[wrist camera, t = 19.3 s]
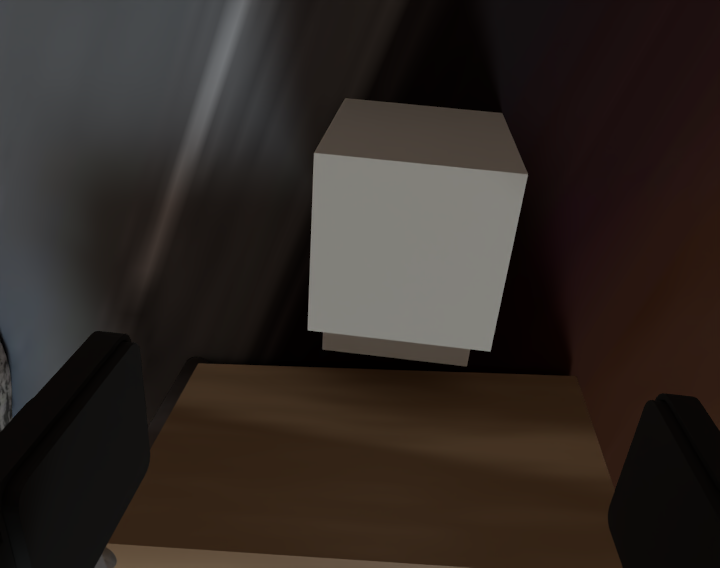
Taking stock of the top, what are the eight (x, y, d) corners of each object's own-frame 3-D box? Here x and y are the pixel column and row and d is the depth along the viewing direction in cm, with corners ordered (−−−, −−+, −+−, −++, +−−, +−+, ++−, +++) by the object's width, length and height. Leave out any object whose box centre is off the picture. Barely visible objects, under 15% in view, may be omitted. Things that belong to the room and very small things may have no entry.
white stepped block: (344, 98, 20) (314, 152, 15) (501, 112, 20) (527, 174, 14) (332, 310, 24) (304, 414, 18) (463, 325, 23) (472, 435, 18)
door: (565, 422, 25) (626, 640, 17) (192, 406, 27) (93, 599, 19) (574, 369, 24) (644, 579, 16) (182, 356, 25) (70, 540, 18)
